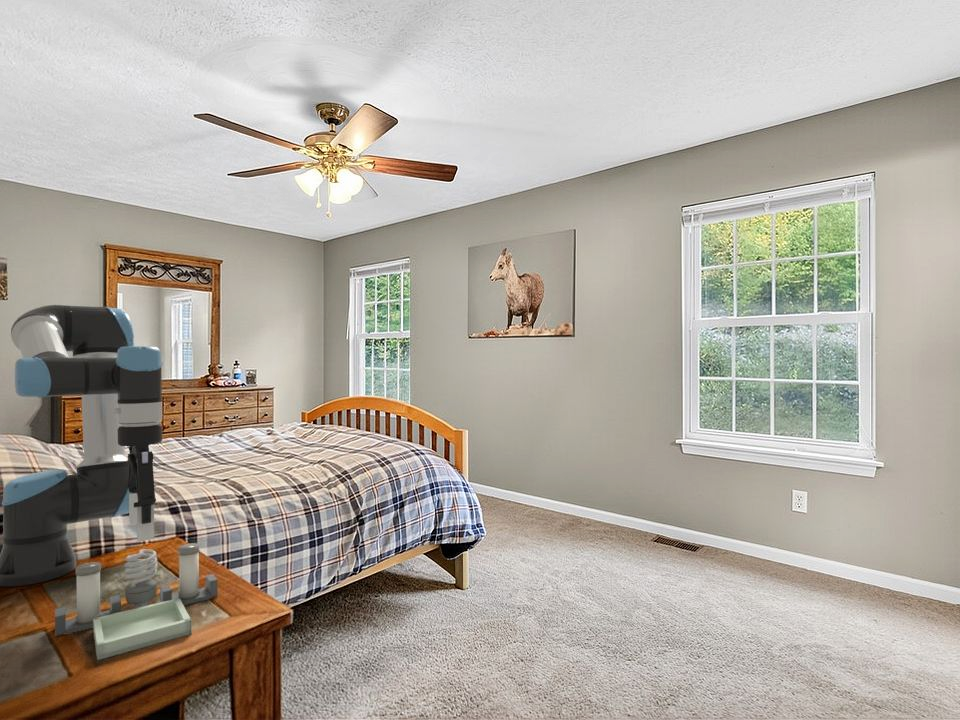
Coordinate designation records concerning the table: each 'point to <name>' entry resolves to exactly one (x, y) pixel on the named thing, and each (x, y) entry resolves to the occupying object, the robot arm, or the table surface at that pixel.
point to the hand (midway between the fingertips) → (141, 531)
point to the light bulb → (143, 587)
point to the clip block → (115, 606)
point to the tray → (140, 627)
